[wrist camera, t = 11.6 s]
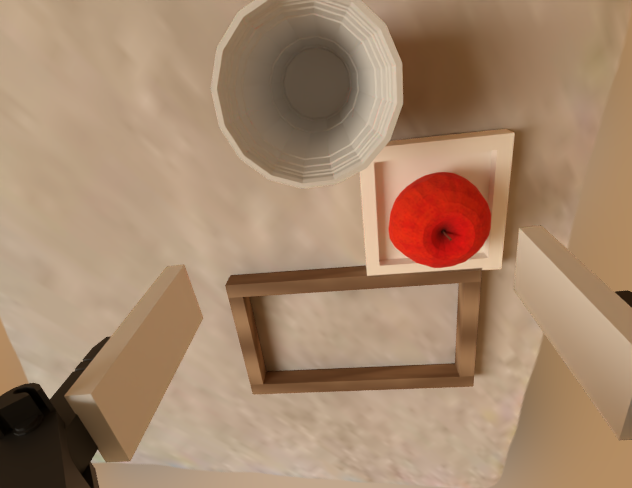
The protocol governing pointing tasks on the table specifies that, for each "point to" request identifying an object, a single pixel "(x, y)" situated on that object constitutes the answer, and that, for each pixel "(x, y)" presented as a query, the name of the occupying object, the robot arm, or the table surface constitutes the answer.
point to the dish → (426, 158)
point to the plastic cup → (307, 89)
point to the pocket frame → (354, 378)
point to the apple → (440, 220)
